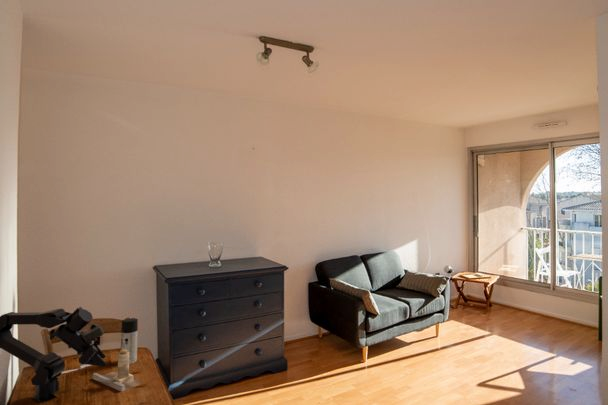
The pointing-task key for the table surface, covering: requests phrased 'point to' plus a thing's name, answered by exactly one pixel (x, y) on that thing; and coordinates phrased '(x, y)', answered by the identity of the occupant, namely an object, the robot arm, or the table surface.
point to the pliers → (75, 369)
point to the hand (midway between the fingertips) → (105, 361)
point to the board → (109, 381)
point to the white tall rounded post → (123, 368)
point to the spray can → (130, 338)
